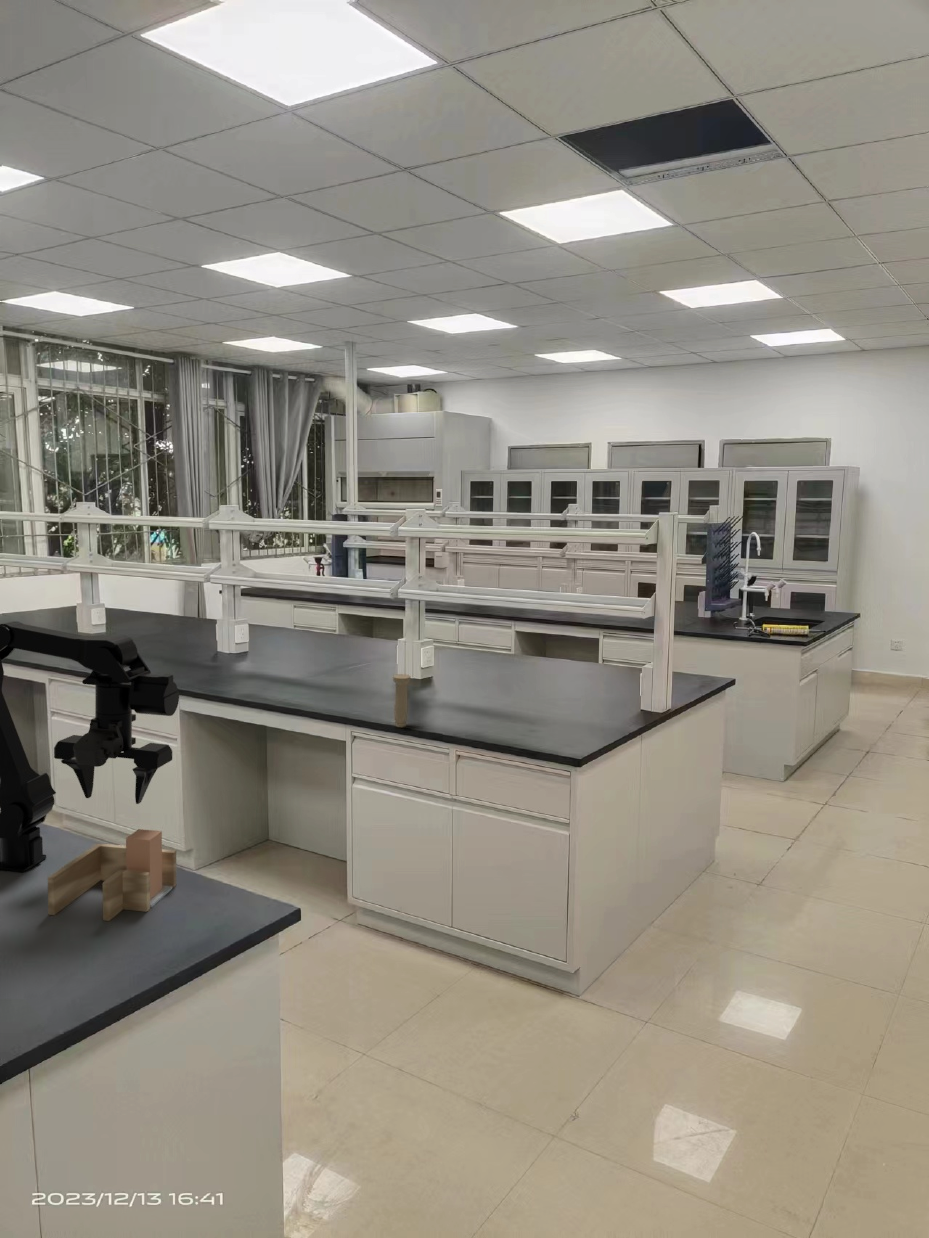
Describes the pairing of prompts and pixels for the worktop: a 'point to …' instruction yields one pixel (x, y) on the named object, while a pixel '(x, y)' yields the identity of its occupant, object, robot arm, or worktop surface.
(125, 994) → the worktop surface
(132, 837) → the peg
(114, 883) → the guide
